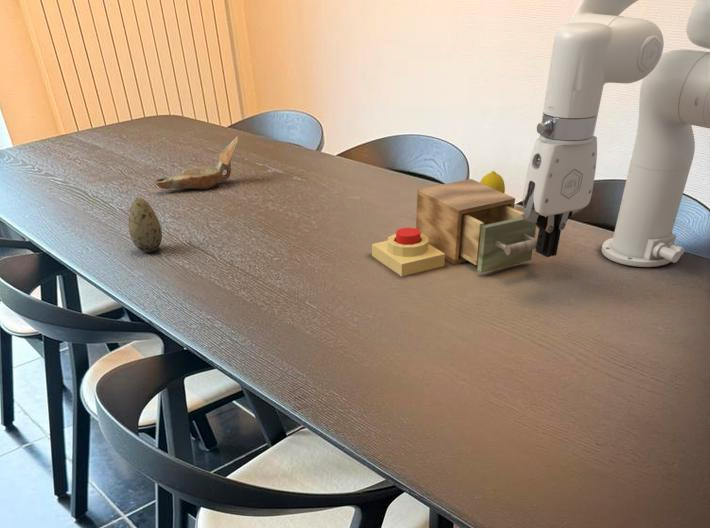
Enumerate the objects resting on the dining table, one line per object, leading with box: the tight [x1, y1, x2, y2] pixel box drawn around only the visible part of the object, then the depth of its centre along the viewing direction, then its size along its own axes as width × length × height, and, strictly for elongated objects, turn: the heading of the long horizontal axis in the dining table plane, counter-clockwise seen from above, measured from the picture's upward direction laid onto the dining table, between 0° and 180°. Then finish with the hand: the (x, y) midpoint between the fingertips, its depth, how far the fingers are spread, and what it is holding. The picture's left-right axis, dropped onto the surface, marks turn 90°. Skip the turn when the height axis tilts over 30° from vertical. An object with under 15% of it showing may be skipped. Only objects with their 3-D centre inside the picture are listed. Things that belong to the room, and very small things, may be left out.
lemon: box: [479, 170, 506, 194], centre depth 140 cm, size 6×6×8 cm
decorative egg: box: [128, 197, 163, 253], centre depth 128 cm, size 6×6×10 cm
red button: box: [395, 227, 421, 245], centre depth 121 cm, size 4×4×2 cm
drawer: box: [459, 205, 538, 274], centre depth 118 cm, size 17×11×8 cm, turn 27°
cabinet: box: [415, 178, 516, 265], centre depth 125 cm, size 14×12×10 cm
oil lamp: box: [154, 135, 239, 190], centre depth 158 cm, size 9×21×10 cm, turn 114°
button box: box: [371, 233, 446, 277], centre depth 122 cm, size 11×9×4 cm
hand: (545, 253), depth 108 cm, fingers closed
